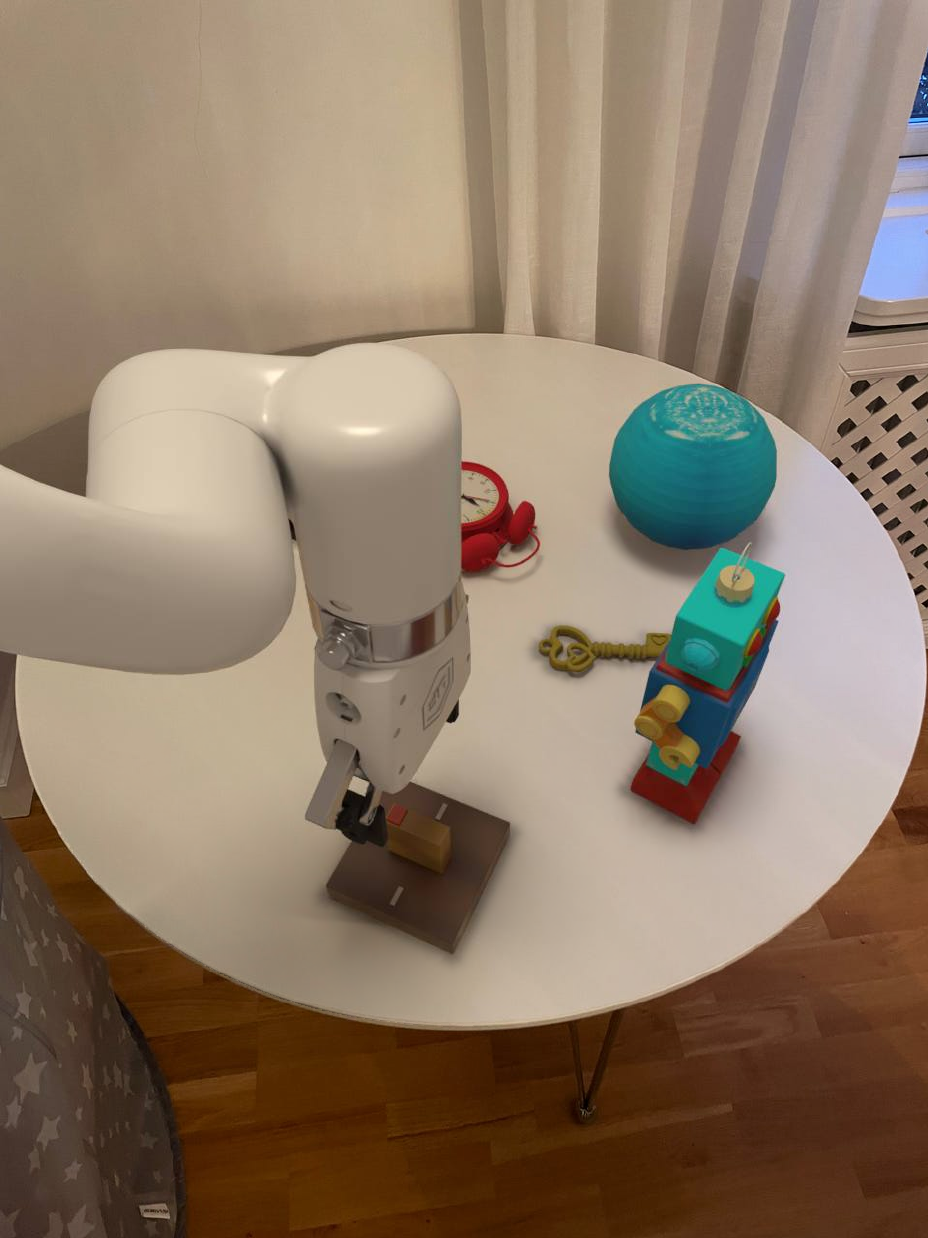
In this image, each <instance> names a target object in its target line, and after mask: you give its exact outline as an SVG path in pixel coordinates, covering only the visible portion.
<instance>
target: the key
mask: <svg viewBox="0 0 928 1238" xmlns="http://www.w3.org/2000/svg"><path fill="white" fill-rule="evenodd" d="M558 636H568V637H571V638H574V639H576V640H577V641H578V642H575V641H574V642H570V643H569V644H568V646H567V647H566V654H567V656H568V658H567V660H559V659H558V658H557V656H558V655H559V654H560V653H561V652H563V649H564V645H563V643H562V642H561V641H560V640H559V639H558ZM645 636H646V637H645V638H646V639H645V640H646V643H645V644H642V645H641V644H639V643H637V644H636V645H635V644H634V643H630V644H629V645H625V644H624V643H623V642H620V643H619V644H612V642H605V641H602V642H600V643H599V641H593V643H592V642H591V640H590V639H589V637H588V636H587V635H586V634H585V633H584V632H583V631H582V630H580V629H578V628H576V627H573V626H571V625H557V626H555V627H553V628H552V630H551V632H550V635H549V638H543V639H542V640H541V641H540V642H539V644H538V648H539V651H540V652H541V653H542V654H545V655H549V656H548V660H549V664H550V666H551V667H552V668H553V669H555V670H557V671H570V672H571V673H582V672H584V671H585V670H587V669H588V668H589V667H591V665H592V664H593V663H594V662H595V661H596V657H598V656H599V655H600V657H601V658H604V657H607V658H611V656H612V655H613V656H618V658H620V659H622V658H624V656H628V658H629V659H631V660H632V659H634V658H635V659H636V660H640V659H641V660H647V658H649V657H650V658H659V656H660V655H661V653H662V651H663V650H664V648H665V647H666V645H667V644H668V642H669V641H670V638H671V634H670V633H667V632H666V633H665V632H647V633H646V634H645ZM546 645H550V646H551V647H550V648H545V647H544V646H546ZM573 650H578V651H581V652H582V653H581V654H580V655H578V656H576V654H575V653H574V652H573Z"/></svg>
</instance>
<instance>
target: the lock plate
mask: <svg viewBox="0 0 928 1238" xmlns="http://www.w3.org/2000/svg"><path fill="white" fill-rule="evenodd" d="M394 803H395V804H397V805H400V806H402V807H404V808H407V809H409V810H411V811H414V812H416V813H418V814H421V815H423V816H425V817H428V818H430V819H432V820H434V821H437V822H439V823H441V824H444V825H446V826H448V827H450V839H451V858H450V860H449V862H448V864H447V866H446V868H445V869H444V871H443V873H442V874H441V873H438V872H436V871H434V870H432V869H429V868H427V867H425V866H423V865H421V864H418V863H416V862H414V861H412V860H409V859H407V858H405V857H403V856H401V855H398V854H396V853H394V852H392V851H389V850H388V845H387V842H386V844H385V846H384V847H380V846H377V845H375V844H373V843H371V842H368V841H366V843H365V844H364V845H362V844H358V843H356V842H353V841H351V840H350V843H349V845H348V847H347V848H346V850H345V852H344V853H343V855H342V857H341V859H340V860H339V862H338V863H337V865H336V867H335V868H334V870H333V872H332V874H331V875H330V877H329V879H328V881H327V882H326V884H325V888H326V892H327V894H328V897H329V898H330V899H333V900H335V901H337V902H339V903H341V904H343V905H346V906H347V907H350V908H352V909H353V910H354V909H355V910H356V911H358V912H360V913H363V914H365V915H367V916H369V917H371V918H373V919H376V920H378V921H380V922H383V923H384V924H386V925H388V926H391V927H393V928H396V929H397V930H399V931H402V932H404V933H406V934H408V935H410V936H412V937H415V938H417V939H419V940H421V941H423V942H425V943H428V944H429V945H432V946H434V947H435V948H439V949H440V950H442V951H445V952H447V953H448V954H451V955H453V954H454V953H455V952H456V949H457V947H458V945H459V943H460V941H461V938H462V937H463V935H464V933H465V930H466V929H467V926H468V924H469V922H470V919H471V917H472V916H473V913H474V912H475V909H476V907H477V905H478V903H479V901H480V899H481V896H482V894H483V892H484V890H485V888H486V886H487V883H488V882H489V879H490V878H491V876H492V873H493V871H494V869H495V867H496V865H497V863H498V861H499V858H500V856H501V854H502V852H503V849H504V848H505V846H506V843H507V841H508V839H509V837H510V835H511V834H510V833H511V822H510V821H508V820H505V819H502V818H500V817H497V816H496V815H493V814H490V813H488V812H486V811H483V810H482V809H481V810H480V809H478V808H476V807H474V806H471V805H469V804H466V803H464V802H461V801H459V800H457V799H454V798H451V797H449V796H446V795H444V794H441V793H439V792H437V791H434V790H432V789H430V788H427V787H425V786H422V785H420V784H417V783H415V782H412V781H410V782H409V783H408V784H407V786H406V787H404V788H403V789H402V790H400V791H399V792H397V793H394V794H390V793H387V792H384V791H383V792H382V795H381V799H380V802H379V805H381V806H382V807H384V809H385V816H387V814H388V812H389V810H390V809H391V807H392V805H393V804H394Z"/></svg>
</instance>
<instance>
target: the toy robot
mask: <svg viewBox="0 0 928 1238" xmlns="http://www.w3.org/2000/svg"><path fill="white" fill-rule="evenodd" d="M752 547H753V542H751V541H750V542H748V543H747V545H746V546H745V548H744V549H743V551H742V553H741V554H739V553H737V552H734V551H732V550H729V549H727V548H725V547H720V548H719V549H718V551H716V553H715V556H714V557H713V558H712V559H711V561H710V562H709V564H708V566H707V568H706V569H705V571H703V574H702V575H701V576H700V578H699V580H698V581H697V583H696V584H695V586H694V587H693V589H692V590H691V592H690V593H689V595H688V596H687V598H686V599H685V601H684V602H683V604H682V605H681V607H680V609H679V610H678V611H677V613H676V614H675V618H674V621H673V626H672V631H671V634H670V635H671V638H670V641H669V642H668V644H667V645H666V647H665V648H664V650H663V651H662V653H661V655H660V656H659V657H657V659H656V661H655V662H654V664H653V666H651V668H650V670H649V671H648V672H649V673H648V675H647V680H646V685H645V689H644V693H643V697H642V701H641V706H640V710H639V713H638V715H637V716H636V717H635V720H634V722H633V725H634V727H635V731H634V733H635V734H637V735H639V736H641V737H643V738H644V739H647V740H649V741H651V745H650V750H649V752H648V754H647V756H646V757H645V759H644V761H643V762H642V764H641V765H640V767H639V769H638V770H637V772H636V774H635V776H634V777H633V778H632V781H631V785H630V789H629V790H630V791H631V792H632V793H635V794H636V795H639V796H641V797H642V798H644V799H646V800H648V801H650V802H651V803H654V804H655V805H658V806H659V807H660V808H663V809H665V810H666V811H668V812H670V813H672V814H674V815H676V816H678V817H680V818H682V819H684V820H685V821H687V822H689V823H691V824H693V825H696V823H697V821H698V819H699V817H700V816H701V814H702V812H703V811H704V808H705V806H706V805H707V803H708V800H709V799H710V797H711V796H712V793H713V792H714V790H715V788H716V786H717V784H718V783H719V780H720V779H721V777H722V775H723V773H724V771H725V770H726V769H727V766H728V764H729V762H730V760H731V758H732V757H733V754H734V753H735V751H736V749H737V747H738V745H739V742H740V740H741V737H742V735H740V734H738V733H736V732H733V728H734V726H735V725H736V723H737V721H738V719H739V717H740V715H741V714H742V711H743V710H744V708H745V706H746V704H747V703H748V701H749V699H750V697H751V695H752V694H753V692H754V691H755V688H756V686H757V683H758V681H759V678H760V675H761V674H762V671H763V669H764V665H765V663H766V660H767V658H768V655H769V652H770V644H771V642H772V639H773V637H774V635H775V632H776V629H777V627H778V624H779V620H778V617H779V615H780V613H781V603H780V601H779V593H780V591H781V588H782V586H783V582H784V580H785V577H786V574H785V573H784V572H783V571H780V570H778V569H776V568H774V567H771V566H768V565H765V564H763V563H761V562H758V561H756V560H753V559H752V558H749V556H750V554H751V551H752ZM747 550H748V551H747ZM746 552H747V553H746ZM745 553H746V556H744V555H745Z"/></svg>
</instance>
